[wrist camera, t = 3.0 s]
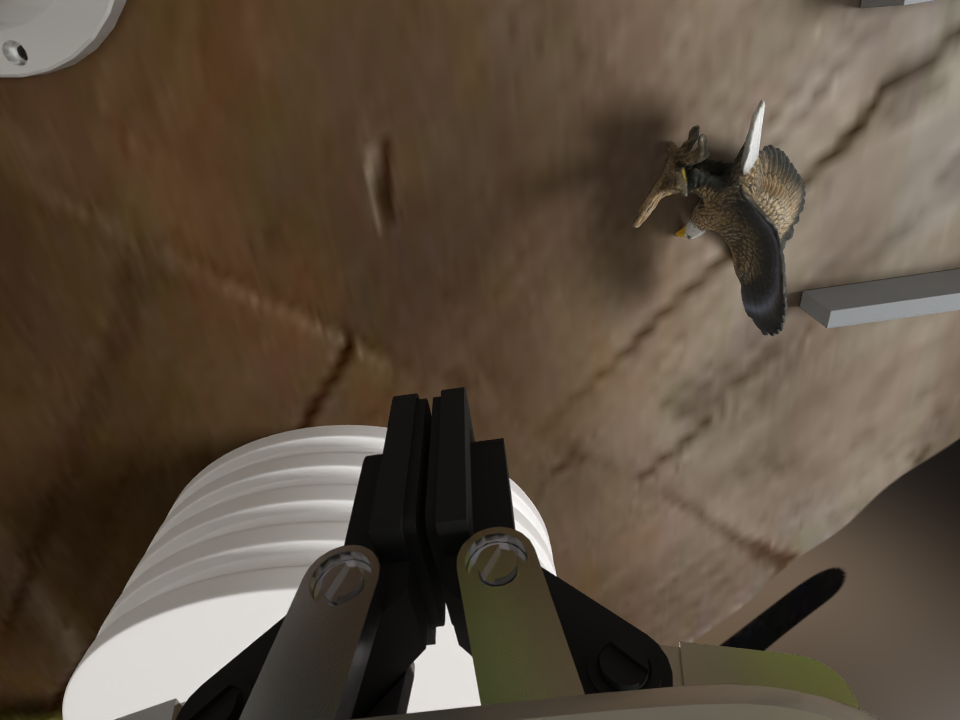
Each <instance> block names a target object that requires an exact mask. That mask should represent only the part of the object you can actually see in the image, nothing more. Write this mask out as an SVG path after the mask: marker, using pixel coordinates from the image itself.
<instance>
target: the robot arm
mask: <svg viewBox="0 0 960 720" xmlns="http://www.w3.org/2000/svg"><path fill="white" fill-rule="evenodd" d="M126 1H127V0H0V77H27V76H35V75H43V74H50V73H52V72H55V71H58V70H61V69H64V68H66V67H69V66H72V65H75V64H76V63H78V62H79V61H80V60H82V59H83V58H85V57H86V56H88V55H89V54H90V53H92V52H93V51H95V50H96V49H97V48H98V47H99V46H100V44H101V43H102V42H103V41H104V39H105V38H106V37H107V36H108V35H109V33H110V32H111V31H112V30H113V29H114V27H115V25H116V23H117V20H118V18H119V16H120V14H121V12H122V10H123V7H124V5H125V3H126ZM25 51H26V53H27V55H26V53H25ZM446 606H447V609H448V613H449V617H450V620H451V624H452V625H453V626H454V630H455V633H456V637H457V641H458V644H459V646H460V647H462V648H463V649H464V650H465V651H466V652H467V653H469V654H470V655H471V656H472V658H473V664H474V669H475V675H476V681H477V686H478V692H479V698H480V703H481V706H471V707H461V708H452V709H443V710H434V711H425V712H415V713H407V709H408V704H409V699H410V694H411V690H412V685H413V680H414V673H415V664H414V661H415V660H416V659H417V658H418V657H419V656H420V655H421V654H422V652H423V651H424V650H425V649H426V645H434V644H436V627H441V626H444V625H445V613H446ZM114 720H883V719H881V718H879V717H876V716H874V715H871V714H869V713H867V712H864V711H862V710H860V708H859V705H858V703H857V700H856V699H855V697H854V695H853V693H852V692H851V690H850V688H849V686H848V684H846V682H845V681H844V680H842V678H840V676H839V675H838V674H836V672H835V671H833V670H832V669H830V668H828V667H827V666H825V665H823V664H822V663H820V662H819V661H817V660H814V659H810V658H807V657H803V656H800V655H793V654H784V653H775V652H767V651H758V650H750V649H741V648H733V647H724V646H715V645H707V644H697V643H689V642H681V641H680V644H679V647H673V646H665V645H659V644H657V643H656V642H655V641H654V640H653V639H651V638H650V637H649V636H648V635H647V634H645V633H644V632H642V631H641V630H639V629H637V628H636V627H634V626H633V625H631V624H630V623H628V622H627V621H625V620H623V619H622V618H620V617H619V616H617V615H616V614H614V613H613V612H611V611H609V610H608V609H606V608H605V607H603V606H602V605H600V604H599V603H597V602H595V601H594V600H592V599H591V598H589V597H588V596H586V595H585V594H583V593H581V592H580V591H578V590H577V589H575V588H574V587H572V586H571V585H569V584H568V583H566V582H564V581H563V580H561V579H560V578H558V577H557V576H555V575H554V574H552V573H550V572H549V571H547V570H546V569H544V568H543V567H541V565H540V562H539V559H538V556H537V553H536V550H535V548H534V546H533V545H532V543H531V541H530V539H528V538H527V537H526V536H525V535H524V534H523V533H521V532H519V531H517V530H516V529H515V521H514V512H513V504H512V496H511V488H510V480H509V473H508V465H507V458H506V451H505V445H504V439H503V438H502V439H494V440H486V441H478V442H475V439H474V433H473V428H472V422H471V417H470V411H469V405H468V400H467V394H466V390H465V387H462V388H454V389H447V390H442V391H441V397H434V398H433V407H432V416H431V412H430V408H429V403H428V400H427V398H426V399H419V396H418V394H409V395H402V396H394V397H393V400H392V405H391V411H390V416H389V422H388V427H387V432H386V438H385V443H384V449H383V454H377V455H370V456H366V457H365V458H364V461H363V464H362V468H361V473H360V477H359V482H358V486H357V490H356V495H355V499H354V504H353V508H352V512H351V517H350V521H349V525H348V530H347V534H346V539H345V543H344V546H340V547H338V548H335V549H332V550H330V551H328V552H327V553H325V554H324V555H322V556H320V557H319V558H318V559H317V560H316V561H315V562H314V563H313V564H312V565H311V566H310V567H309V569H308V570H307V572H306V573H305V575H304V577H303V579H302V581H301V583H300V585H299V588H298V590H297V592H296V594H295V597H294V599H293V601H292V603H291V605H290V608H289V610H288V612H287V614H286V615H285V616H284V617H283V618H282V619H281V620H279V621H278V622H277V623H276V624H275V625H273V626H272V627H271V628H270V629H269V630H267V631H266V632H265V633H264V634H263V635H261V636H260V637H259V638H258V639H256V640H255V641H254V642H253V643H252V644H250V645H249V646H248V647H247V648H246V649H244V650H243V651H242V652H241V653H240V654H238V655H237V656H236V657H235V658H234V659H232V660H231V661H230V662H229V663H228V664H226V665H225V666H224V667H223V668H221V669H220V670H219V671H218V672H217V673H215V674H214V675H213V676H212V677H211V678H209V679H208V680H207V681H206V682H205V683H203V684H202V685H201V686H200V687H199V688H198V689H197V690H196V691H195V692H194V693H193V694H192V695H191V696H190V697H189V698H188V700H187V701H185V702H183V703H180V702H179V701H178V700H177V699H176V698H175V699H172V700H169V701H166V702H164V703H161V704H158V705H155V706H152V707H149V708H146V709H143V710H140V711H137V712H135V713H132V714H129V715H126V716H123V717H120V718H117V719H114Z"/></svg>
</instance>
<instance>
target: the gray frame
mask: <svg viewBox="0 0 960 720" xmlns="http://www.w3.org/2000/svg"><path fill="white" fill-rule="evenodd" d="M926 1H932V0H862V1H861V6H860V8H870V7H883V6H897V5H907V4H913V3H920V2H926ZM800 308H801V309H803V310H804V311H805V312H806V313H808V314H809V315H810V316H812V317H813V318H814V319H816V320H817V321H818V322H819V323H821V324H822V325H823V326H825V327H826V328H833V327H840V326H847V325H854V324H862V323H869V322H876V321H883V320H890V319H897V318H905V317H912V316H919V315H926V314H933V313H940V312H947V311H955V310H960V269H954V270H947V271H940V272H933V273H926V274H919V275H912V276H905V277H898V278H891V279H884V280H877V281H870V282H863V283H855V284H848V285H841V286H834V287H827V288H820V289H813V290H806V291H803V294H802V299H801V303H800Z"/></svg>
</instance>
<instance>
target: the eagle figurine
mask: <svg viewBox="0 0 960 720" xmlns="http://www.w3.org/2000/svg"><path fill="white" fill-rule="evenodd" d="M764 107H765V102H764V101H763V100H761V101H760V102H759V104H758V107H757V109H756V111H755V112H754V114H753V116H752V119H751V124H750V129H749V132H748V135H747V138H746V141H745V143H744V145H743V146H742V148H741V149H740V151H739V153H738V155H737V157H736V159H735V161H734V163H723V162H722V161H718V162H716V161H711V160H707V159H706V158H707V157H708V156H709V152H708V146H707V138H706V136H705V135H703V134H701V135H700V136H699V128H700V127H699V126H698V125H697V126H694V127H693V128H692V129H691V130H690V132H689V138H688V140H687V141H686V142H684V143H683V145H682V146H681V148H678V147H677V146H676V145H675V143H674V142H672V141H671V142H668V143H667V144H666V149H667V151H668V156H667V159H666V164H665V167H664V169H663V172H662V174H661V176H660V178H659V179H658V180H657V181H656V183H655V184H654V186H653V187H652V189H651V191H650V192H649V194H648V196H647V197H646V199H645V200H644V202H643V204H642V205H641V207H640V208H639V210H638V212H637V213H636V215H635V218H634V222H633V225H632V226H633V227H634V228H638V227H640V225H641V224H642V223H643V222H644V221H645V220H646V219H647V218H648V216H649V215H650V214H651V212H652V211H653V210H654V209H655V207H656V206H657V204H658V202H659V200H660V199H661V198H663V197H665V196H667V195H671V194H678V193H679V192H680V193H681V194H682V195H683V196H685V197H686V196H687V194H688V193H696V194H698V196H700V197H701V200H700V201H699V202H698V204H697V206H696V207H695V209H694V211H693V213H692V216H691V218H690V220H689V221H688V222H687V224H686V225H685V226H684V227H683V228H682V229H681V230H679V231H677V232H676V233H675V234H676V235H677V236H680V237H687V238H688V239H694V238H696V237H698V236H700V235H701V234H703V233H704V232H706V231H708V230H713V231H716V232H717V233H719V234H720V235H721V236H722V238H723V239H724V240H725V241H726V242H727V244H728V246H729V248H730V250H731V252H732V256H733V262H734V268H735V272H736V275H737V277H738V279H739V281H740V283H741V295H742V301H743V305H744V308H745V311H746V313H747V315H748V316H749V317H751V318H752V319H753V321H754V323H755V325H756V326H757V327H758V328H759V329H760V330H761V331H762V334H763V335H768V334H770V335H771V336H775V334H779V333H780V331H783V323H785V316H786V308H787V290H786V275H785V262H784V254H783V249H784V248H785V244H786V241H787V240H790V239H791V238H792V237H793V233H794V229H793V225H794V224H796V223H798V222H799V214H800V213H801V212H802V211H803V208H804V207H803V205H804V203H805V199H804V197H805V195H806V193H805V190H804V189H805V185H804V183H803V182H802V179H801V176H800V175H799V174H797V170H796V169H795V168H794V165H793V164H792V163H790V161H789V158H788V157H787V156H786V154H785V153H784V152H783V151H781V150H780V149H779V148H774V147H773V146H772V145H769V146H764V149H763V151H759V145H760V137H761V129H762V123H763V115H764ZM698 136H699V138H698ZM697 139H698V148H697V149H696V150H694V151H692V152H690V150H691V149H692V147H693V145H694V143H695V142H696V140H697Z"/></svg>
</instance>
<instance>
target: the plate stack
mask: <svg viewBox="0 0 960 720" xmlns="http://www.w3.org/2000/svg"><path fill="white" fill-rule="evenodd" d="M386 432H387V428H385V427H376V426H363V425H332V426H318V427H310V428H303V429H297V430H292V431H287V432H282V433H278V434H274V435H271V436H268V437H264V438H261V439H258V440H256V441H253V442H250V443H248V444H245V445H243V446H241V447H239V448H237V449H235V450H233V451H231V452H229V453H227V454H225V455H223V456H222V457H220V458H218V459H217V460H215V461H214V462H212V463H211V464H210V465H208V466H207V467H206V468H204V469H203V470H202V471H201V472H200V473H198V474H197V475H196V476H195V477H194V478H193V479H192V480H191V481H190V482H189V484H188V485H187V486H186V487H185V488H184V490H183V491H182V492H181V494H180V495H179V497H178V498H177V500H176V501H175V503H174V505H173V506H172V508H171V510H170V512H169V513H168V515H167V517H166V519H165V521H164V523H163V524H162V525H161V527H160V528H159V530H158V532H157V533H156V535H155V537H154V539H153V540H152V542H151V544H150V545H149V547H148V549H147V551H146V553H145V555H144V556H143V558H142V559H141V561H140V562H139V564H138V565H137V567H136V569H135V571H134V572H133V574H132V576H131V577H130V579H129V581H128V582H127V584H126V586H125V588H124V590H123V593H122V594H121V596H120V597H119V598H118V600H117V601H116V603H115V604H114V606H113V608H112V609H111V611H110V613H109V614H108V616H107V618H106V619H105V621H104V623H103V625H102V626H101V628H100V630H99V632H98V634H97V637H96V639H95V641H94V642H93V643H92V644H91V646H90V647H89V648H88V650H87V652H86V653H85V655H84V657H83V658H82V660H81V662H80V663H79V665H78V667H77V668H76V670H75V672H74V674H73V675H72V677H71V679H70V681H69V683H68V685H67V688H66V691H65V694H64V699H63V707H62V714H63V720H114V719H117V718H120V717H123V716H126V715H129V714H132V713H135V712H137V711H140V710H143V709H146V708H149V707H152V706H155V705H158V704H161V703H164V702H166V701H169V700H172V699H175V698H176V699H177V700H178V701H179V702H180V703H183V702H185V701H187V700H188V698H189V697H190V696H191V695H192V694H193V693H194V692H195V691H196V690H197V689H198V688H199V687H200V686H201V685H202V684H203V683H205V682H206V681H207V680H208V679H209V678H211V677H212V676H213V675H214V674H215V673H217V672H218V671H219V670H220V669H221V668H223V667H224V666H225V665H226V664H228V663H229V662H230V661H231V660H232V659H234V658H235V657H236V656H237V655H238V654H240V653H241V652H242V651H243V650H244V649H246V648H247V647H248V646H249V645H250V644H252V643H253V642H254V641H255V640H256V639H258V638H259V637H260V636H261V635H263V634H264V633H265V632H266V631H267V630H269V629H270V628H271V627H272V626H273V625H275V624H276V623H277V622H278V621H279V620H281V619H282V618H283V617H284V616H285V615H286V614H287V612H288V610H289V608H290V605H291V603H292V601H293V599H294V597H295V594H296V592H297V590H298V588H299V585H300V583H301V581H302V579H303V577H304V575H305V573H306V572H307V570H308V569H309V567H310V566H311V565H312V564H313V563H314V562H315V561H316V560H317V559H318V558H319V557H320V556H322V555H324V554H325V553H327V552H328V551H330V550H332V549H335V548H338V547H340V546H344V543H345V539H346V534H347V530H348V525H349V521H350V517H351V512H352V508H353V504H354V499H355V495H356V490H357V486H358V482H359V477H360V473H361V468H362V464H363V461H364V458H365V457H366V456H370V455H377V454H383V449H384V443H385V438H386ZM509 480H510V488H511V496H512V504H513V512H514V521H515V529H516V530H517V531H519V532H521V533H523V534H524V535H525V536H526V537H527V538H528V539H530V541H531V543H532V545H533V546H534V548H535V550H536V553H537V556H538V559H539V562H540V565H541V567H543V568H544V569H546V570H547V571H549V572H550V573H552V574H554V575H555V576H556V571H555V567H554V563H553V557H552V551H551V546H550V541H549V536H548V533H547V530H546V527H545V524H544V522H543V520H542V518H541V516H540V514H539V512H538V511H537V509H536V507H535V506H534V504H533V503H532V502H531V500H530V499H529V498H528V496H527V495H526V494H525V493H524V492H523V491H522V490H521V489H520V487H519V486H517V485H516V484H515V483H514V482H513V481H512V480H511V479H510V478H509ZM414 664H415V673H414V680H413V685H412V690H411V694H410V699H409V704H408V709H407V713H415V712H425V711H434V710H443V709H452V708H461V707H471V706H481V703H480V698H479V692H478V686H477V681H476V675H475V669H474V664H473V658H472V656H471V655H470V654H469V653H467V652H466V651H465V650H464V649H463V648H462V647H460V646H459V644H458V641H457V637H456V633H455V630H454V626H453V625H452V624H451V620H450V617H449V613H448V609H447V606H446V613H445V625H444V626H441V627H436V644H434V645H426V649H425V650H424V651H423V652H422V654H421V655H420V656H419V657H418V658H417V659H416V660H415V661H414Z"/></svg>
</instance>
